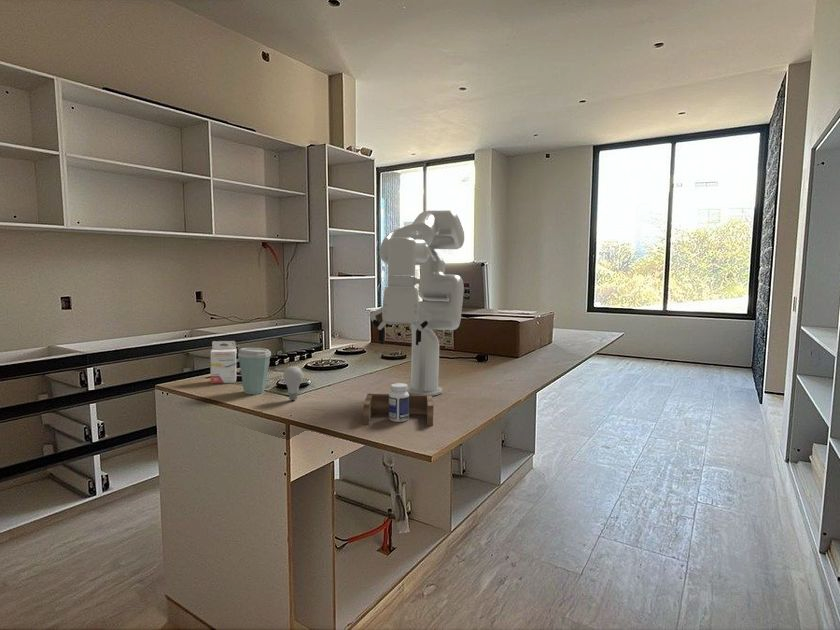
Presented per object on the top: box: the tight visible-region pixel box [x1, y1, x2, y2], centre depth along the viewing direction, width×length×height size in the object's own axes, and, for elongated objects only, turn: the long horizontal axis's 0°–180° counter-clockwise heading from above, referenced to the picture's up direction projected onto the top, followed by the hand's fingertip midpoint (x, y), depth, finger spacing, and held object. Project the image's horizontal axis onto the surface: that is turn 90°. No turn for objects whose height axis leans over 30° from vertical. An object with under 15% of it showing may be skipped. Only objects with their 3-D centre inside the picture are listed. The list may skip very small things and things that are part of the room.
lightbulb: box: [282, 365, 304, 401], centre depth 151 cm, size 6×6×11 cm
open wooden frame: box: [362, 393, 434, 426], centre depth 135 cm, size 12×19×6 cm, turn 91°
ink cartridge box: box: [210, 340, 237, 385], centre depth 173 cm, size 9×5×15 cm, turn 108°
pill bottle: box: [388, 382, 410, 423], centre depth 134 cm, size 6×6×10 cm
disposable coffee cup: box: [237, 347, 272, 395], centre depth 159 cm, size 11×11×15 cm
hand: (399, 344), depth 133 cm, fingers open, 9 cm apart
